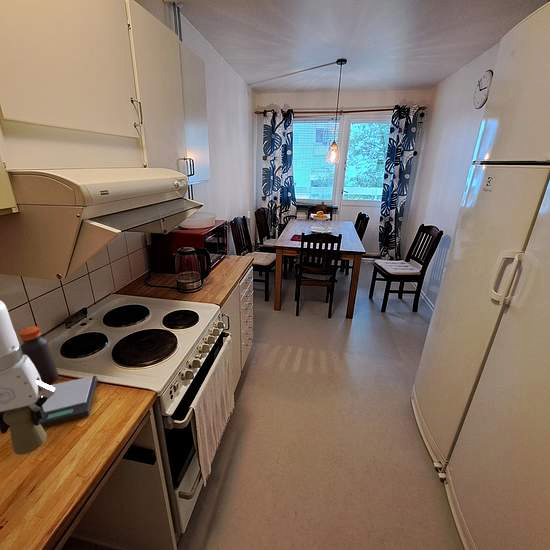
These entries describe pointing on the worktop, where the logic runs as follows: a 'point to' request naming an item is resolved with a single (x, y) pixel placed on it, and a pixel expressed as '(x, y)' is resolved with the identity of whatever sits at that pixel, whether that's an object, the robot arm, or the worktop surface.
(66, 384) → the scale
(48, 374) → the bottle
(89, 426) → the worktop surface
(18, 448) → the cork
